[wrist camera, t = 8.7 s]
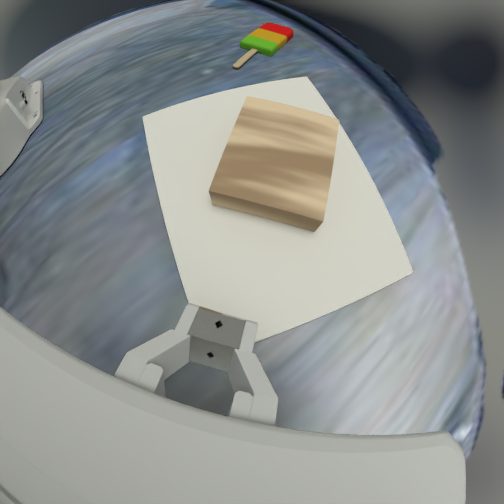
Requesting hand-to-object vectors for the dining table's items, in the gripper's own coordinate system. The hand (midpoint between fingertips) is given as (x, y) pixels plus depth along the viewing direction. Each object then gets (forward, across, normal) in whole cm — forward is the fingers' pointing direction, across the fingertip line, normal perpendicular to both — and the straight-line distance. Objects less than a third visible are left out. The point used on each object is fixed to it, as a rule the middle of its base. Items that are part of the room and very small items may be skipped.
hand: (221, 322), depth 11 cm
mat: (+19, 0, 0) cm, 19 cm away
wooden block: (+14, 0, +1) cm, 14 cm away
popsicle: (+37, +7, -16) cm, 41 cm away
